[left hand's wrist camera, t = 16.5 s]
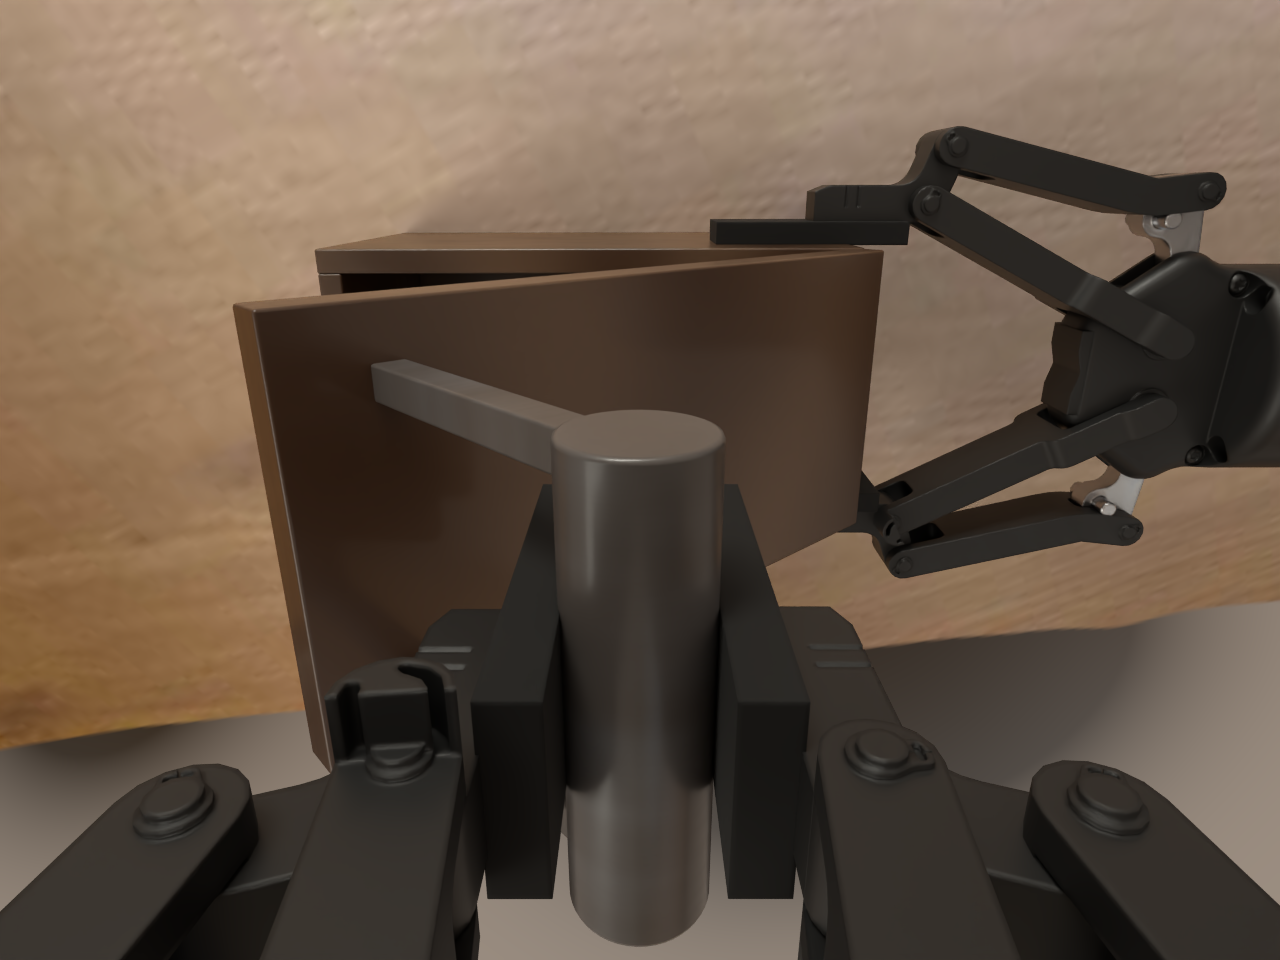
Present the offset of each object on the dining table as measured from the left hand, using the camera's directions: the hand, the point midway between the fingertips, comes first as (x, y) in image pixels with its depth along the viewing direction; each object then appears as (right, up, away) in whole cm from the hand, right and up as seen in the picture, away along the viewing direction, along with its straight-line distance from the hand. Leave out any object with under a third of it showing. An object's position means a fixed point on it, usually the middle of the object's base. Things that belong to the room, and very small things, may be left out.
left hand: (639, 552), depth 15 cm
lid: (0, +2, +6) cm, 6 cm away
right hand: (+3, +6, +15) cm, 16 cm away
